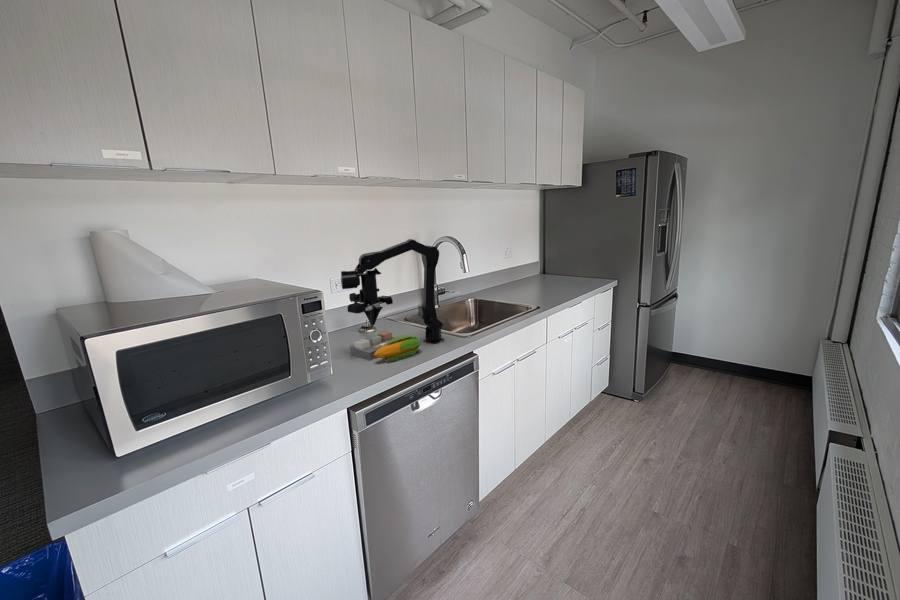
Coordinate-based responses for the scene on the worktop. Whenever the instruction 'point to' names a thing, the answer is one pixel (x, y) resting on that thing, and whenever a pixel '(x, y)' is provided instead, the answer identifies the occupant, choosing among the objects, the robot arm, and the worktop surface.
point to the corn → (398, 348)
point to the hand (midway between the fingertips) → (372, 325)
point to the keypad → (369, 350)
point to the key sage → (374, 339)
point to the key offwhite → (362, 344)
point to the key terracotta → (385, 335)
